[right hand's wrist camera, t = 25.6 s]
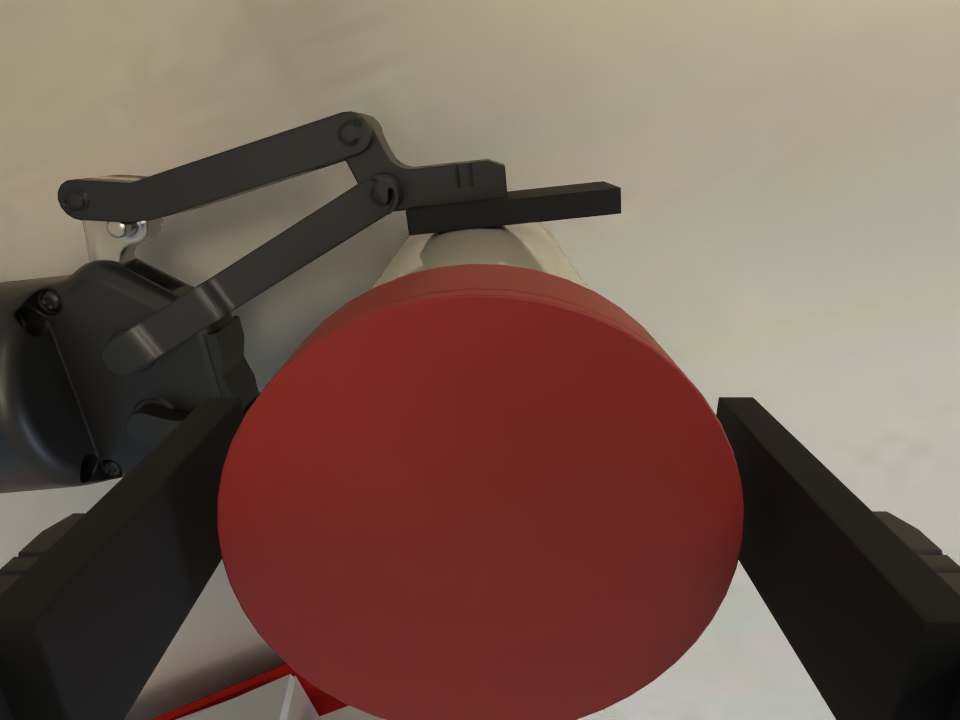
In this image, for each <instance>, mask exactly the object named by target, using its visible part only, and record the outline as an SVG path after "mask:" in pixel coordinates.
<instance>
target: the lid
mask: <svg viewBox="0 0 960 720" xmlns="http://www.w3.org/2000/svg"><path fill="white" fill-rule="evenodd" d="M743 522H744V504H743V494H742V484H741V478H740V474H739V471H738V467H737V463H736V459H735V456H734V452H733V449H732V447H731V445H730V443H729V441H728V438H727V436H726V434H725V432H724V429H723V427H722V425H721V423H720V421H719V420H718V418H717V417H716V415H715V413H714V412H713V410H712V409H711V407H710V406H709V404H708V403H707V401H706V400H705V398H704V397H703V395H702V394H701V393H700V392H699V390H698V389H697V388H696V387H695V386H694V385H693V383H692V382H691V381H690V380H689V379H688V378H687V376H686V375H685V374H684V373H683V372H682V371H681V369H680V368H679V367H678V366H677V365H676V364H675V362H674V361H673V360H672V359H671V358H670V357H669V355H668V354H667V353H666V352H665V351H664V350H663V349H662V347H661V346H660V345H659V344H658V343H657V342H656V341H655V340H654V338H653V337H652V336H651V335H650V334H649V333H648V332H647V331H646V329H645V328H644V327H643V326H642V325H640V324H639V323H638V322H637V321H636V320H634V319H633V318H632V317H631V316H630V315H628V314H627V313H626V312H625V311H624V310H622V309H621V308H620V307H618V306H617V305H615V304H614V303H612V302H610V301H609V300H607V299H606V298H604V297H602V296H601V295H599V294H598V293H596V292H594V291H592V290H590V289H588V288H585V287H583V286H581V285H579V284H576V283H574V282H572V281H570V280H567V279H565V278H562V277H558V276H555V275H551V274H548V273H545V272H541V271H538V270H534V269H528V268H521V267H515V266H508V265H497V264H464V265H455V266H445V267H437V268H433V269H429V270H425V271H420V272H416V273H412V274H408V275H405V276H402V277H400V278H397V279H395V280H392V281H389V282H387V283H384V284H382V285H379V286H377V287H375V288H373V289H371V290H369V291H368V292H366V293H364V294H362V295H360V296H359V297H357V298H355V299H353V300H351V301H350V302H348V303H347V304H346V305H344V306H343V307H342V308H340V309H339V310H338V311H336V312H335V313H334V314H332V315H331V316H330V317H328V318H327V319H326V320H325V321H324V322H323V323H322V324H321V325H320V326H319V327H318V328H317V329H316V330H315V331H314V332H313V333H312V334H311V335H310V336H309V337H308V338H307V339H306V340H305V341H304V342H303V343H302V344H301V346H300V347H299V348H298V349H297V350H296V351H295V353H294V354H293V355H292V356H291V357H290V358H289V360H288V361H287V362H286V363H285V364H284V365H283V367H282V368H281V369H280V370H279V371H278V372H277V374H276V375H275V376H274V377H273V378H272V379H271V381H270V382H269V383H268V384H267V385H266V387H265V388H264V389H263V391H262V392H261V393H260V395H259V396H258V397H257V399H256V400H255V402H254V403H253V404H252V406H251V407H250V408H249V410H248V411H247V412H246V414H245V416H244V418H243V420H242V422H241V424H240V426H239V428H238V430H237V432H236V434H235V435H234V437H233V439H232V442H231V445H230V448H229V451H228V454H227V457H226V460H225V463H224V466H223V469H222V474H221V480H220V486H219V492H218V498H217V530H218V536H219V543H220V549H221V556H222V560H223V563H224V566H225V569H226V572H227V575H228V579H229V582H230V585H231V587H232V589H233V591H234V593H235V595H236V597H237V599H238V601H239V603H240V605H241V607H242V609H243V611H244V613H245V614H246V616H247V617H248V619H249V620H250V622H251V623H252V625H253V626H254V628H255V629H256V631H257V632H258V634H259V635H260V636H261V637H262V638H263V639H264V640H265V642H266V643H267V644H268V645H269V646H270V647H271V648H272V650H273V651H274V652H275V653H276V654H277V655H278V656H279V657H280V658H281V659H282V660H283V661H285V662H286V663H287V664H288V665H289V666H290V667H291V668H292V669H294V670H295V671H296V672H297V673H298V674H299V675H301V676H302V677H304V678H305V679H306V680H308V681H309V682H311V683H312V684H313V685H315V686H316V687H318V688H319V689H320V690H322V691H324V692H325V693H327V694H329V695H331V696H333V697H334V698H336V699H338V700H340V701H342V702H343V703H345V704H347V705H349V706H352V707H354V708H356V709H359V710H361V711H363V712H366V713H368V714H371V715H373V716H376V717H379V718H382V719H385V720H577V719H579V718H582V717H585V716H587V715H590V714H592V713H595V712H598V711H600V710H603V709H605V708H607V707H609V706H611V705H613V704H615V703H617V702H619V701H621V700H623V699H625V698H627V697H629V696H631V695H632V694H634V693H635V692H637V691H638V690H640V689H641V688H643V687H645V686H646V685H648V684H649V683H651V682H652V681H654V680H655V679H656V678H658V677H659V676H660V675H661V674H662V673H664V672H665V671H666V670H667V669H669V668H670V667H671V666H672V665H673V664H675V663H676V662H677V661H678V660H679V659H680V658H681V657H682V656H683V655H684V654H685V652H686V651H687V650H688V649H689V648H690V647H691V646H692V645H693V644H694V643H695V642H696V641H697V639H698V638H699V637H700V635H701V634H702V633H703V631H704V630H705V629H706V627H707V626H708V625H709V623H710V622H711V621H712V619H713V618H714V616H715V614H716V612H717V610H718V609H719V607H720V605H721V603H722V601H723V600H724V598H725V596H726V594H727V591H728V589H729V586H730V583H731V581H732V578H733V576H734V573H735V570H736V567H737V563H738V558H739V554H740V549H741V544H742V539H743Z"/></svg>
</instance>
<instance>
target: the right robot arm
mask: <svg viewBox="0 0 960 720" xmlns="http://www.w3.org/2000/svg"><path fill="white" fill-rule="evenodd" d="M716 417H717V418H718V420H719V421H720V423H721V425H722V427H723V429H724V432H725V434H726V436H727V438H728V441H729V443H730V445H731V447H732V449H733V452H734V456H735V459H736V463H737V467H738V471H739V474H740V478H741V484H742V494H743V504H744V522H743V539H742V544H741V549H740V554H739V558H738V559H739V561H740V563H741V564H742V566H743V568H744V569H745V571H746V573H747V574H748V576H749V577H750V579H751V581H752V582H753V584H754V586H755V587H756V589H757V591H758V592H759V594H760V595H761V597H762V599H763V600H764V602H765V604H766V605H767V607H768V609H769V610H770V612H771V613H772V615H773V617H774V618H775V620H776V622H777V623H778V625H779V627H780V628H781V630H782V631H783V633H784V635H785V636H786V638H787V640H788V641H789V643H790V645H791V646H792V648H793V649H794V651H795V653H796V654H797V656H798V658H799V659H800V661H801V663H802V664H803V666H804V667H805V669H806V671H807V672H808V674H809V676H810V677H811V679H812V681H813V682H814V684H815V685H816V687H817V689H818V690H819V692H820V694H821V695H822V697H823V699H824V700H825V702H826V703H827V705H828V707H829V708H830V710H831V712H832V713H833V715H834V717H835V718H836V720H960V566H959V565H957V564H956V563H955V562H954V561H953V560H952V559H951V558H950V557H948V556H947V555H943V554H942V550H941V549H940V548H938V547H937V546H936V545H935V544H934V543H933V542H932V541H931V540H930V539H928V538H927V537H926V536H925V535H924V534H923V533H922V532H921V531H920V530H918V529H917V528H915V527H913V526H911V525H910V524H908V523H906V522H904V521H903V520H901V519H899V518H897V517H895V516H894V515H892V514H890V513H888V512H872V511H871V510H870V509H869V508H868V507H867V506H866V505H865V504H864V503H863V502H862V501H861V500H859V499H858V498H857V497H856V496H855V495H854V494H853V493H852V492H851V491H850V490H849V489H848V488H847V487H846V486H845V485H844V484H843V483H842V482H841V481H840V480H839V479H838V478H836V477H835V476H834V475H833V474H832V473H831V472H830V471H829V470H828V469H827V468H826V467H825V466H824V465H823V464H822V463H821V462H820V461H819V460H818V459H817V458H816V457H815V456H813V455H812V454H811V453H810V452H809V451H808V450H807V449H806V448H805V447H804V446H803V445H802V444H801V443H800V442H799V441H798V440H797V439H796V438H795V437H794V436H793V435H792V434H791V433H789V432H788V431H787V430H786V429H785V428H784V427H783V426H782V425H781V424H780V423H779V422H778V421H777V420H776V419H775V418H774V417H773V416H772V415H771V414H770V413H769V412H768V411H766V410H765V409H764V408H763V407H762V406H761V405H760V404H759V403H758V402H757V401H756V400H755V399H754V398H753V397H719V401H718V408H717V414H716ZM243 418H244V414H243V408H242V401H241V397H207V398H206V399H205V400H204V401H203V402H202V403H201V404H200V405H199V406H198V407H197V408H196V409H195V410H194V411H192V412H191V413H190V414H189V415H188V416H187V417H186V418H185V419H184V420H183V421H182V422H181V423H180V424H179V425H178V426H177V427H176V428H175V429H174V430H173V431H172V432H171V433H169V434H168V435H167V436H166V437H165V438H164V439H163V440H162V441H161V442H160V443H159V444H158V445H157V446H156V447H155V448H154V449H153V450H152V451H151V452H150V453H149V454H148V455H146V456H145V457H144V458H143V459H142V460H141V461H140V462H139V463H138V464H137V465H136V466H135V467H134V468H133V469H132V470H131V471H130V472H129V473H128V474H127V475H126V476H125V477H124V478H122V479H121V480H120V481H119V482H118V483H117V484H116V485H115V486H114V487H113V488H112V489H111V490H110V491H109V492H108V493H107V494H106V495H105V496H104V497H103V498H102V499H101V500H99V501H98V502H97V503H96V504H95V505H94V506H93V507H92V508H91V509H90V510H89V511H88V512H87V513H74V514H72V515H70V516H69V517H67V518H65V519H63V520H62V521H60V522H58V523H56V524H55V525H53V526H51V527H49V528H48V529H46V530H44V531H42V532H41V533H40V534H39V535H38V536H37V537H36V538H35V539H33V540H32V541H31V542H30V543H29V544H28V545H27V546H26V547H25V548H23V549H22V550H21V551H20V552H19V555H18V557H13V558H12V559H11V560H10V561H9V562H8V563H7V564H6V565H5V566H4V567H2V568H1V569H0V720H124V718H125V717H126V715H127V713H128V712H129V710H130V708H131V707H132V705H133V703H134V702H135V700H136V699H137V697H138V695H139V694H140V692H141V690H142V689H143V687H144V685H145V684H146V682H147V681H148V679H149V677H150V676H151V674H152V672H153V671H154V669H155V667H156V666H157V664H158V663H159V661H160V659H161V658H162V656H163V654H164V653H165V651H166V649H167V648H168V646H169V645H170V643H171V641H172V640H173V638H174V636H175V635H176V633H177V631H178V630H179V628H180V627H181V625H182V623H183V622H184V620H185V618H186V617H187V615H188V613H189V612H190V610H191V609H192V607H193V605H194V604H195V602H196V600H197V599H198V597H199V595H200V594H201V592H202V591H203V589H204V587H205V586H206V584H207V582H208V581H209V579H210V577H211V576H212V574H213V573H214V571H215V569H216V568H217V566H218V564H219V563H220V561H221V559H222V556H221V549H220V543H219V536H218V530H217V498H218V492H219V486H220V480H221V474H222V469H223V466H224V463H225V460H226V457H227V454H228V451H229V448H230V445H231V442H232V439H233V437H234V435H235V434H236V432H237V430H238V428H239V426H240V424H241V422H242V420H243Z"/></svg>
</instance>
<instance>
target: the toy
mask: <svg viewBox="0 0 960 720" xmlns="http://www.w3.org/2000/svg"><path fill="white" fill-rule="evenodd" d="M152 720H385V719H382V718H379V717H376V716H373V715H371V714H368V713H366V712H363V711H361V710H359V709H356V708H354V707H352V706H349V705H347V704H345V703H343V702H342V701H340V700H338V699H336V698H334V697H333V696H331V695H329V694H327V693H325V692H324V691H322V690H320V689H319V688H318V687H316V686H315V685H313V684H312V683H311V682H309V681H308V680H306V679H305V678H304V677H302V676H301V675H299V674H298V673H297V672H296V671H295V670H294V669H292V668H291V667H290V666H289V665H288V664H285V665H283V666H280V667H278V668H275V669H273V670H270V671H268V672H266V673H263V674H261V675H258V676H256V677H254V678H251V679H249V680H246V681H244V682H241V683H239V684H237V685H234V686H232V687H229V688H227V689H224V690H222V691H220V692H217V693H215V694H212V695H210V696H207V697H205V698H203V699H200V700H198V701H195V702H193V703H191V704H188V705H186V706H183V707H181V708H178V709H176V710H174V711H171V712H169V713H166V714H164V715H161V716H159V717H157V718H154V719H152Z"/></svg>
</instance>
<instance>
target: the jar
mask: <svg viewBox="0 0 960 720" xmlns="http://www.w3.org/2000/svg"><path fill="white" fill-rule="evenodd" d="M464 264H497V265H508V266H515V267H521V268H528V269H534V270H538V271H541V272H545V273H548V274H551V275H555V276H558V277H562V278H565V279H567V280H570V281H572V282H574V283H576V284H579V285H581V286H583V287H585V288H588V289H589V287H588V286H587V284H586V283H585V282H584V280H583V279H582V277H581V276H580V275H579V273H578V272H577V270H576V269H575V268H574V266H573V265H572V264H571V262H570V261H569V259H568V258H567V257H566V255H565V254H564V252H563V251H562V250H561V248H560V247H559V245H558V244H557V243H556V241H555V240H554V239H553V238H552V236H551V235H550V234H549V232H548V231H546V230H545V229H544V228H543V227H542V226H541V225H540V224H539V223H538V222H534V223H524V224H515V225H506V226H496V227H487V228H477V229H467V230H458V231H449V232H439V233H430V234H420V235H411V236H409V237H408V238H407V239H406V241H405V242H404V243H403V245H402V246H401V248H400V249H399V250H398V252H397V253H396V255H395V256H394V257H393V259H392V260H391V262H390V263H389V264H388V266H387V267H386V269H385V270H384V271H383V273H382V274H381V276H380V277H379V278H378V280H377V281H376V283H375V284H374V285H373V287H372V288H371V289H373V288H375V287H377V286H379V285H382V284H384V283H387V282H389V281H392V280H395V279H397V278H400V277H402V276H405V275H408V274H412V273H416V272H420V271H425V270H429V269H433V268H437V267H445V266H455V265H464Z"/></svg>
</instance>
